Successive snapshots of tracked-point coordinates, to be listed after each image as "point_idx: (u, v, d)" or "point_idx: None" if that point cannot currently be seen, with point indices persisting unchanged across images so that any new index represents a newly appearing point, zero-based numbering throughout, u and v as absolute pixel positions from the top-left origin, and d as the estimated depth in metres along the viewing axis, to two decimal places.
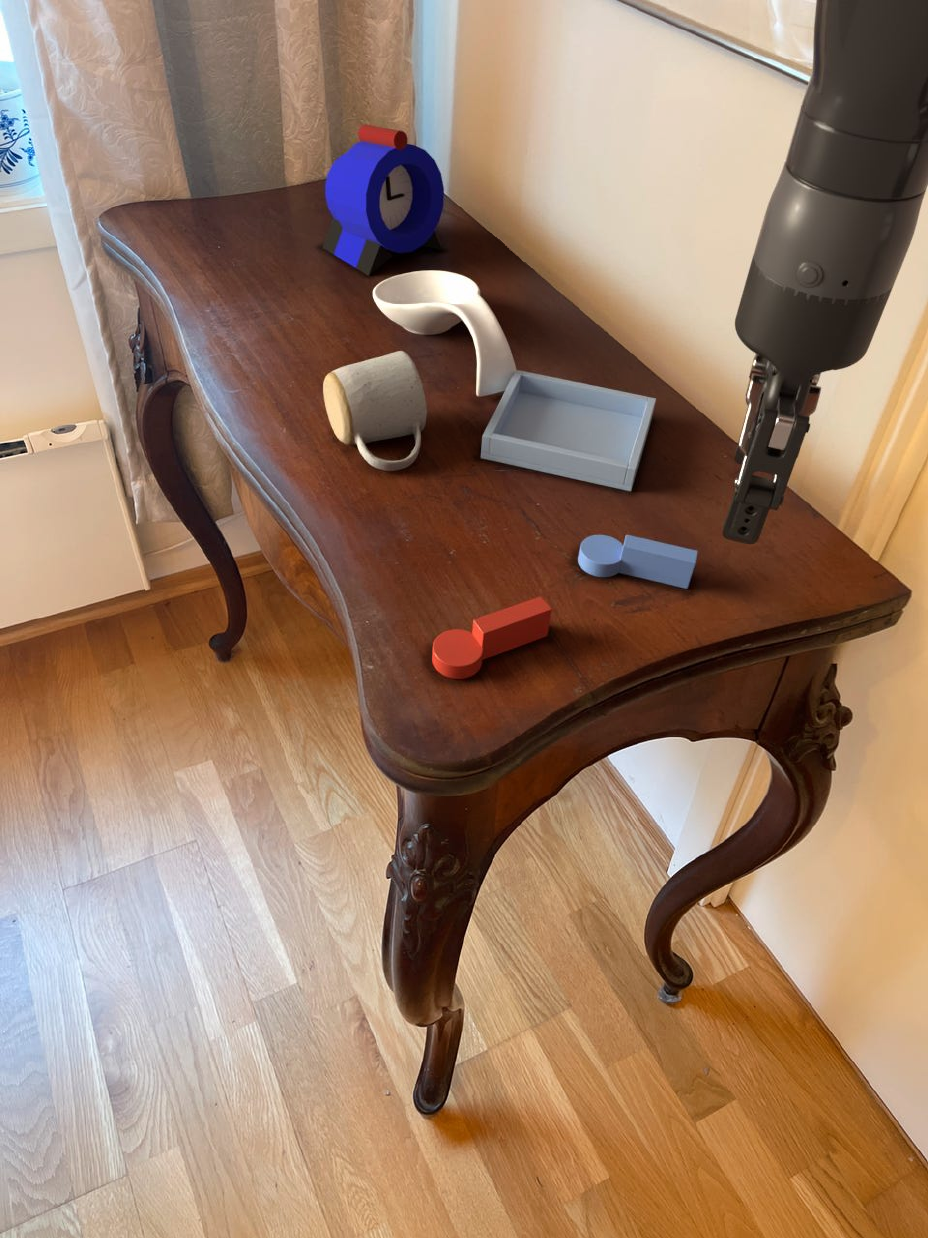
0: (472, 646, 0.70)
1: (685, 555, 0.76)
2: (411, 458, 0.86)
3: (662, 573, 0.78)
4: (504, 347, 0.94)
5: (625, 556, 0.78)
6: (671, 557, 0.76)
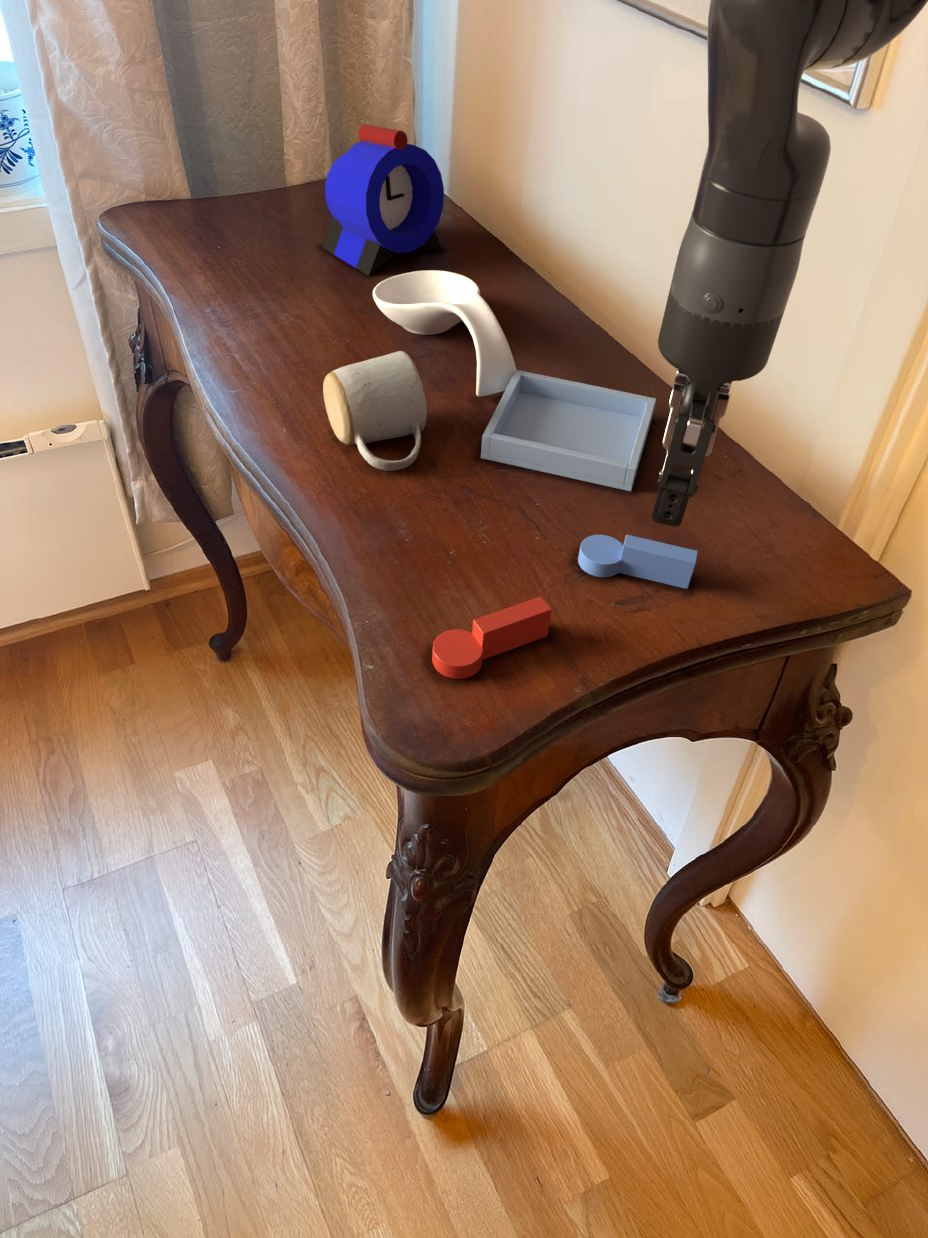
0: (472, 646, 0.70)
1: (685, 555, 0.76)
2: (411, 458, 0.86)
3: (662, 573, 0.78)
4: (504, 347, 0.94)
5: (625, 556, 0.78)
6: (671, 557, 0.76)
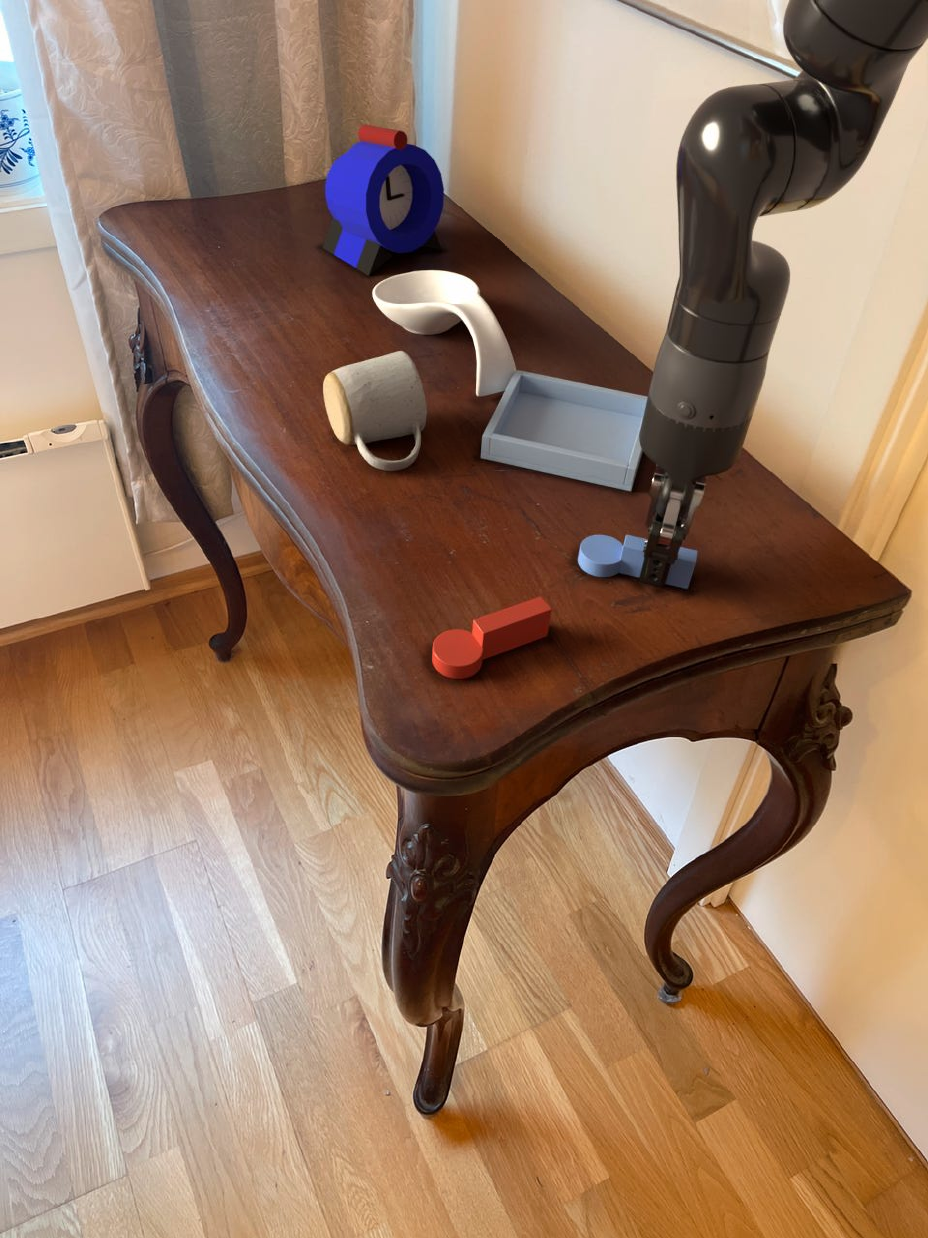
0: (472, 646, 0.70)
1: (685, 555, 0.76)
2: (411, 458, 0.86)
3: None
4: (504, 347, 0.94)
5: (625, 556, 0.78)
6: None
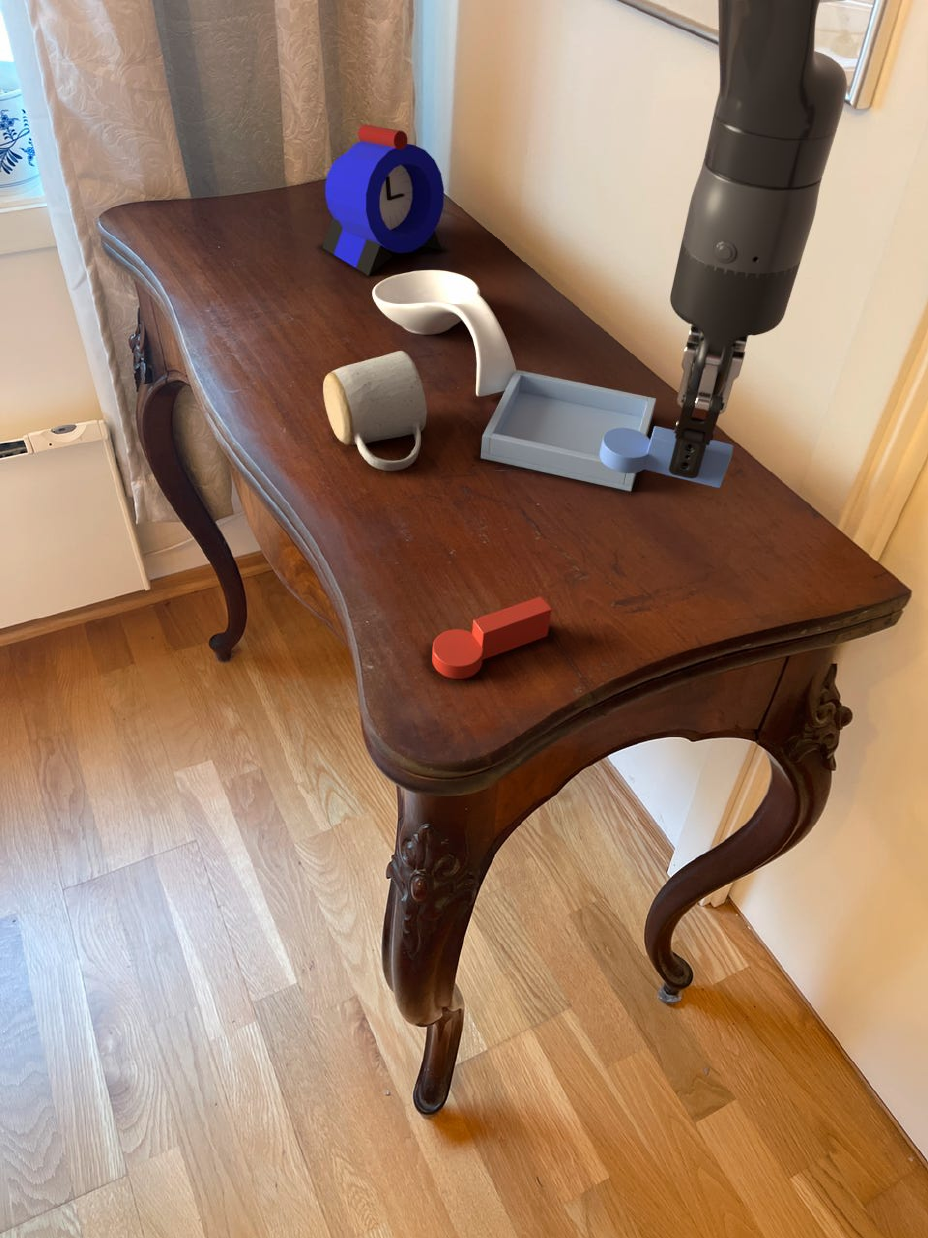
0: (472, 646, 0.70)
1: (720, 449, 0.69)
2: (411, 458, 0.86)
3: None
4: (504, 347, 0.94)
5: (653, 449, 0.70)
6: None
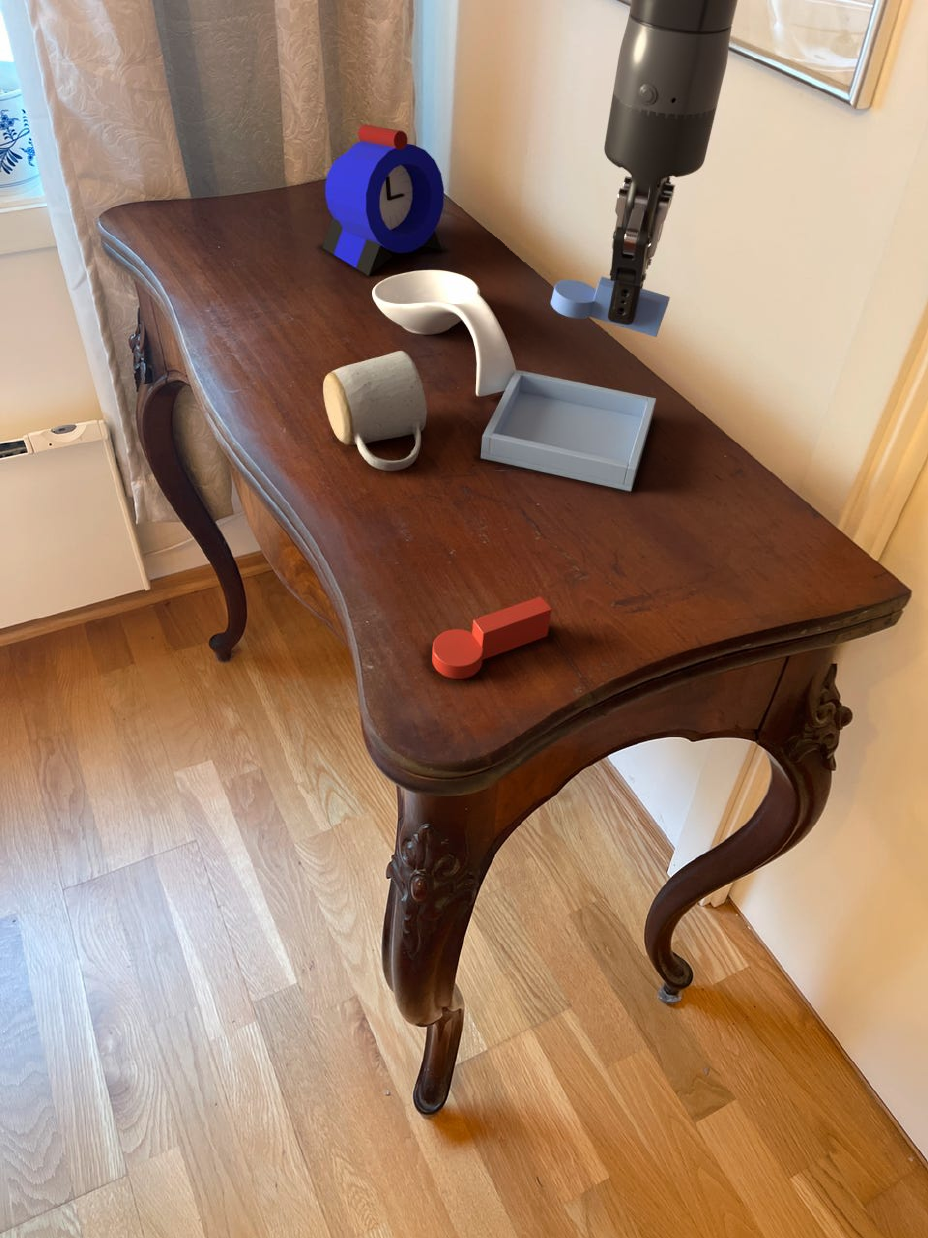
0: (472, 646, 0.70)
1: (658, 298, 0.77)
2: (411, 458, 0.86)
3: None
4: (504, 347, 0.94)
5: (599, 296, 0.78)
6: (644, 298, 0.77)
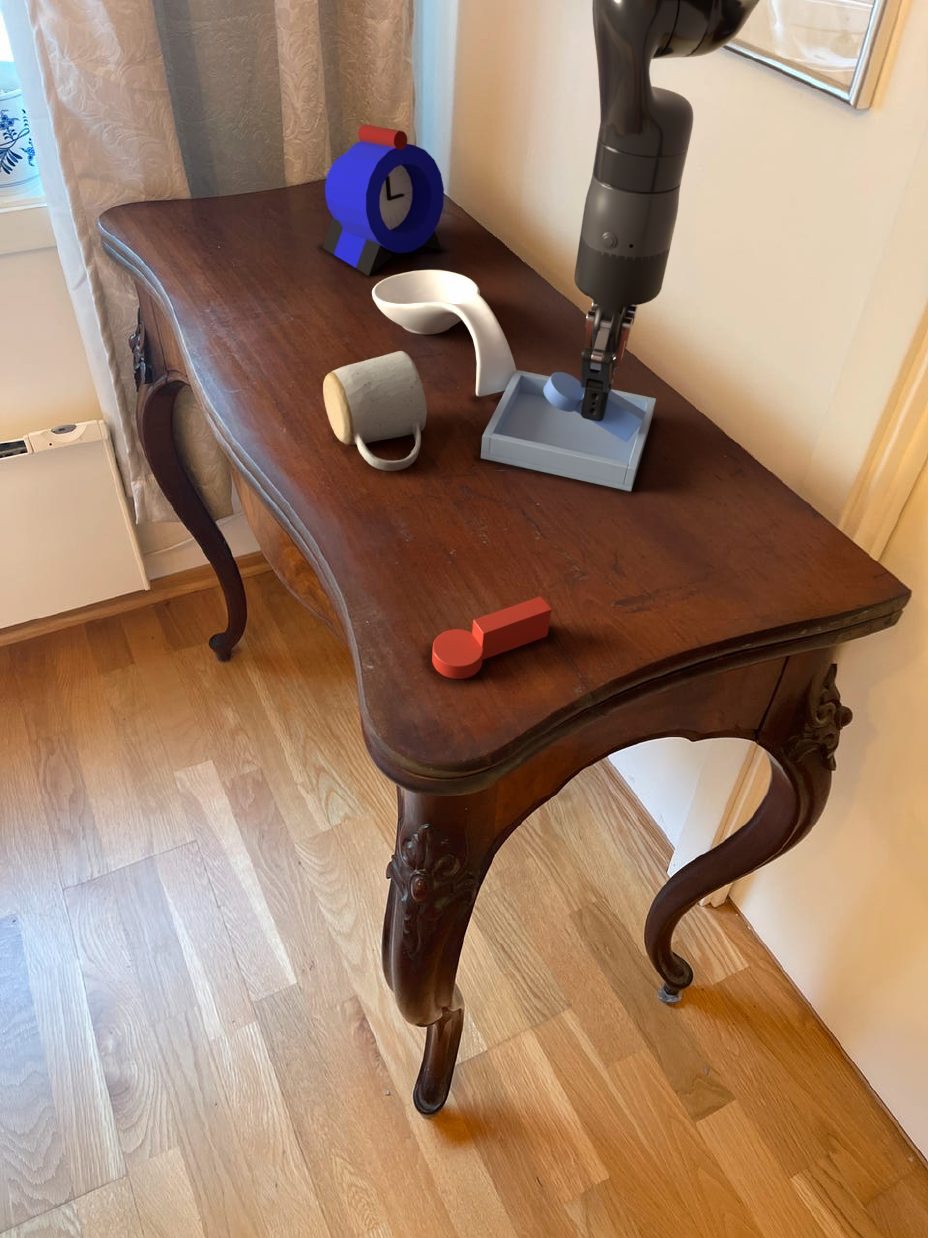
0: (472, 646, 0.70)
1: (636, 412, 0.88)
2: (411, 458, 0.86)
3: (611, 422, 0.89)
4: (504, 347, 0.94)
5: None
6: (625, 409, 0.88)
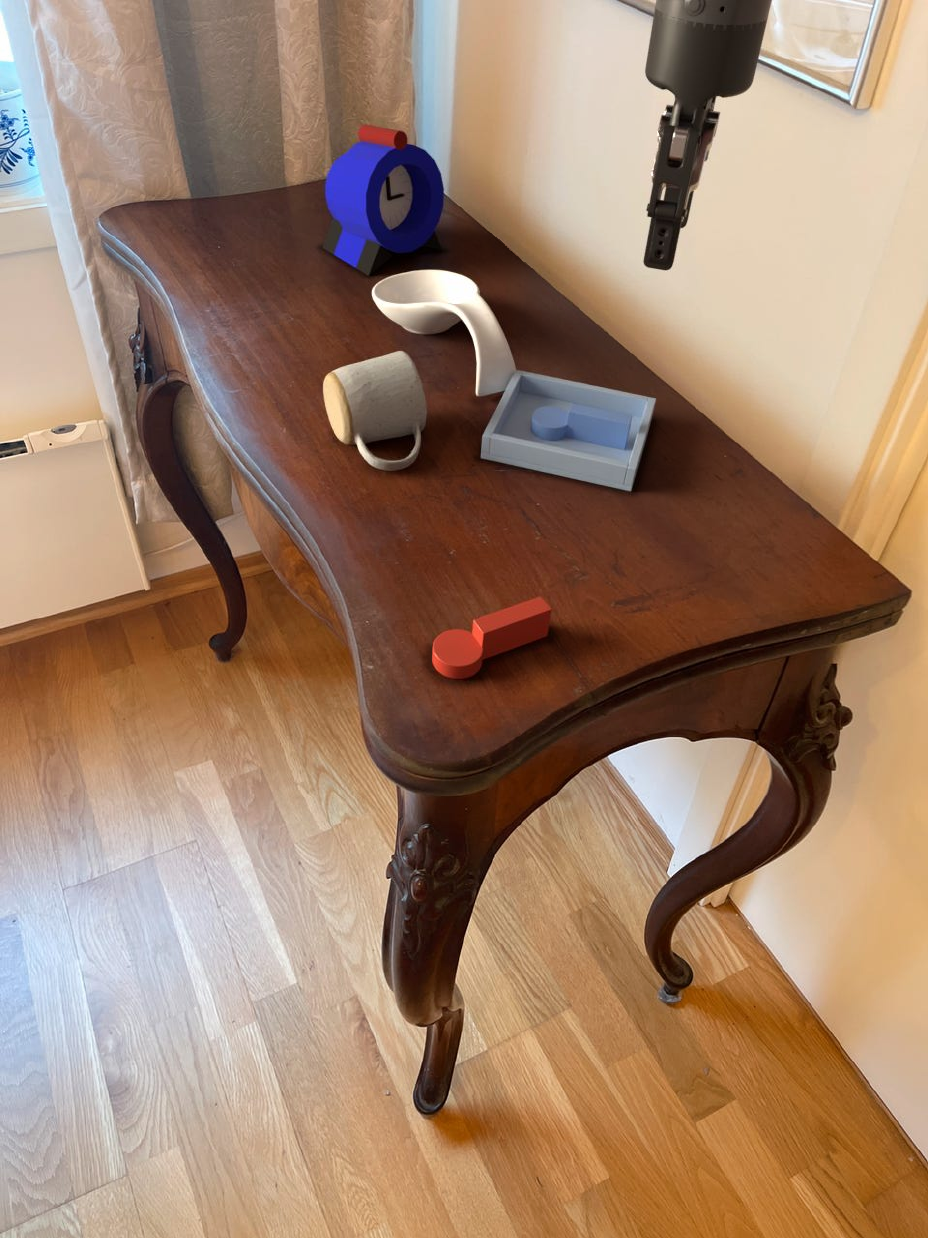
0: (472, 646, 0.70)
1: (621, 418, 0.89)
2: (411, 458, 0.86)
3: (602, 436, 0.90)
4: (504, 347, 0.94)
5: (570, 421, 0.90)
6: (609, 420, 0.89)
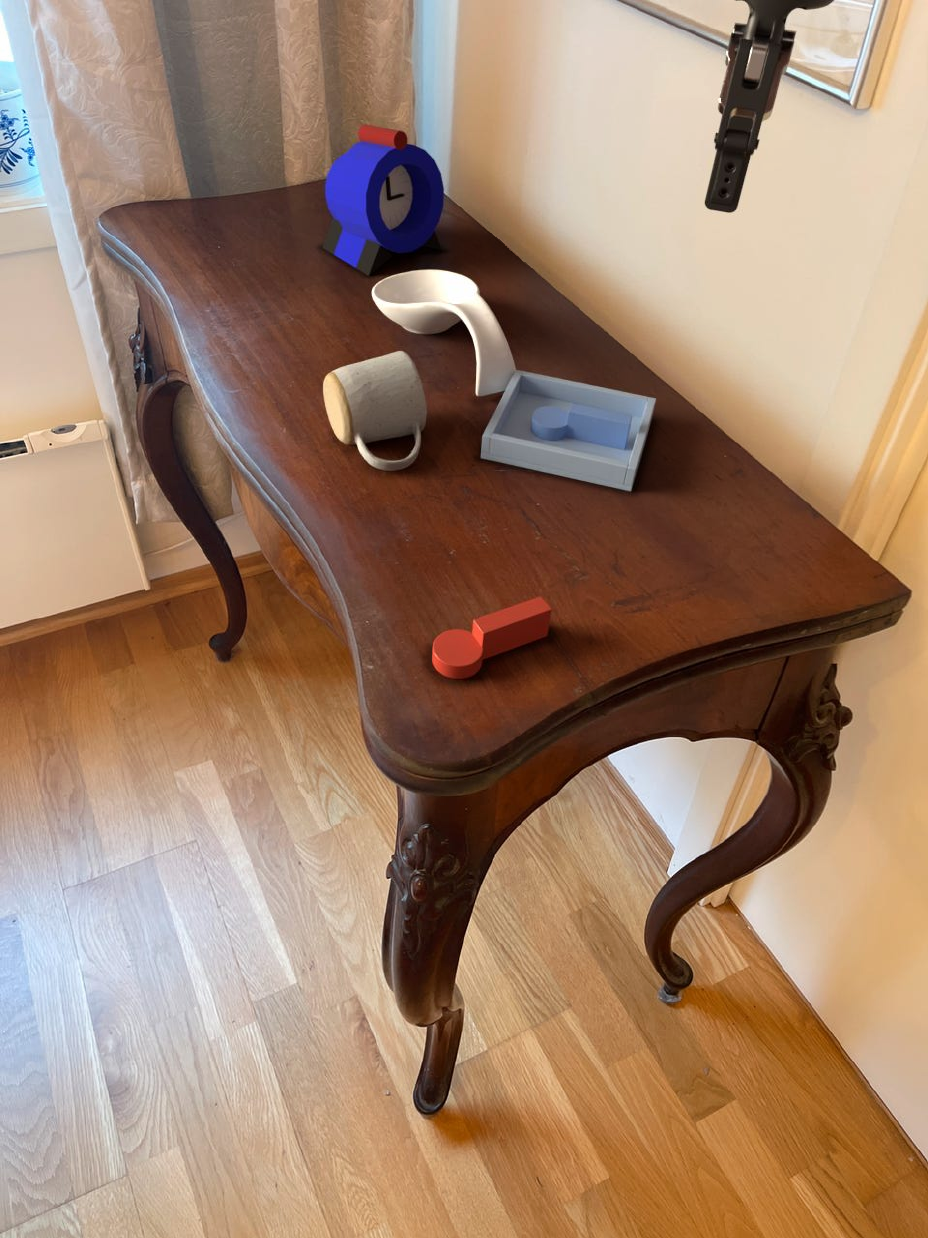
0: (472, 646, 0.70)
1: (621, 418, 0.89)
2: (411, 458, 0.86)
3: (602, 436, 0.90)
4: (504, 347, 0.94)
5: (570, 421, 0.90)
6: (609, 420, 0.89)
